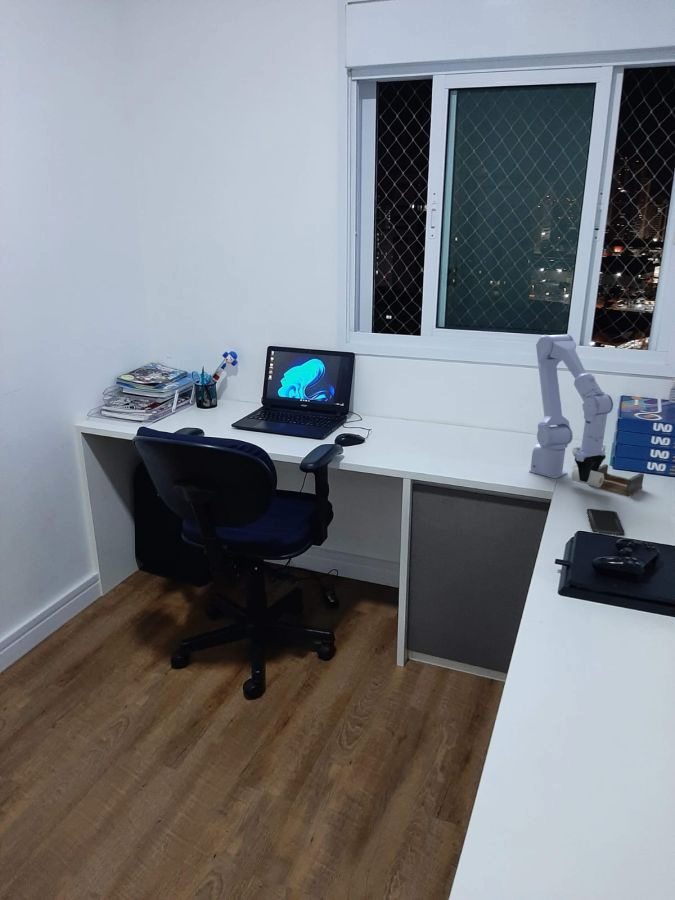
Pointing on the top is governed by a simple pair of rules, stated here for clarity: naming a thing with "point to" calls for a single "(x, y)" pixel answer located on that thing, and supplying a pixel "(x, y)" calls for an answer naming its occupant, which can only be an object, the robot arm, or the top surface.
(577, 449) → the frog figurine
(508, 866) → the top surface
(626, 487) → the roll holder
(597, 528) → the phone
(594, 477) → the paper roll
